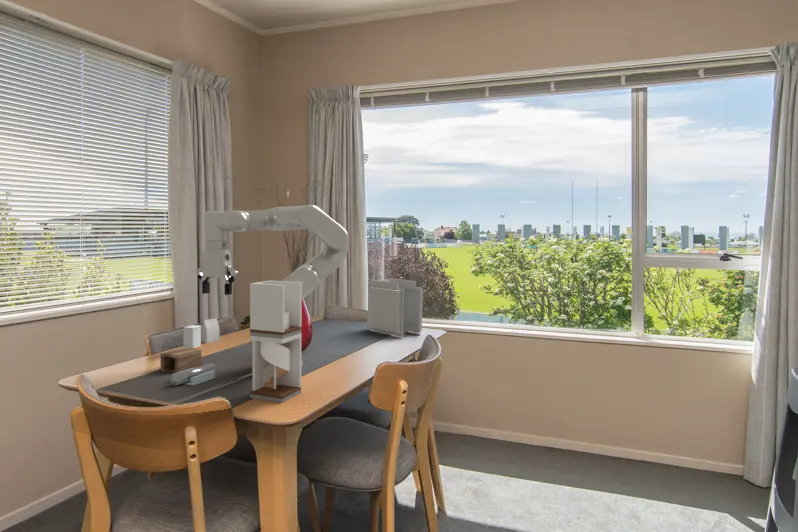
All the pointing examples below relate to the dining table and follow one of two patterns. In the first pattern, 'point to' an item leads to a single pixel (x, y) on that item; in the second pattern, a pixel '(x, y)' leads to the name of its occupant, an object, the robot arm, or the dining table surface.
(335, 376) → the dining table surface
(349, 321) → the dining table surface
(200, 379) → the cradle
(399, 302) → the grey file holder
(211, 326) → the light grey block
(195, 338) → the skincare box
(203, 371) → the axle
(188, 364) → the hollow wooden box
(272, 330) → the spiral staircase model
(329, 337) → the dining table surface
